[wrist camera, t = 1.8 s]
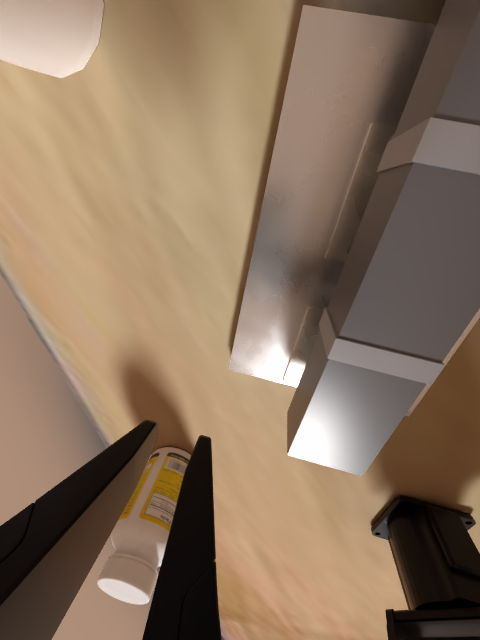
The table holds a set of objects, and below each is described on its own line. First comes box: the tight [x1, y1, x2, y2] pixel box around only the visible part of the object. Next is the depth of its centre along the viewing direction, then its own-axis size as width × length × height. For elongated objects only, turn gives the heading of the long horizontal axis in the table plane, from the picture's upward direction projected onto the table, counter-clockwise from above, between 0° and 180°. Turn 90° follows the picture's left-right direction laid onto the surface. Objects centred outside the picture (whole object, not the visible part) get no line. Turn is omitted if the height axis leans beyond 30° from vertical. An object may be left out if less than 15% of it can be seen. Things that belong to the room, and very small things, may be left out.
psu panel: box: [229, 5, 480, 417], centre depth 14 cm, size 18×13×2 cm
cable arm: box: [287, 0, 480, 476], centre depth 11 cm, size 22×4×7 cm, turn 170°
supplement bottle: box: [97, 447, 191, 604], centre depth 22 cm, size 5×5×10 cm
